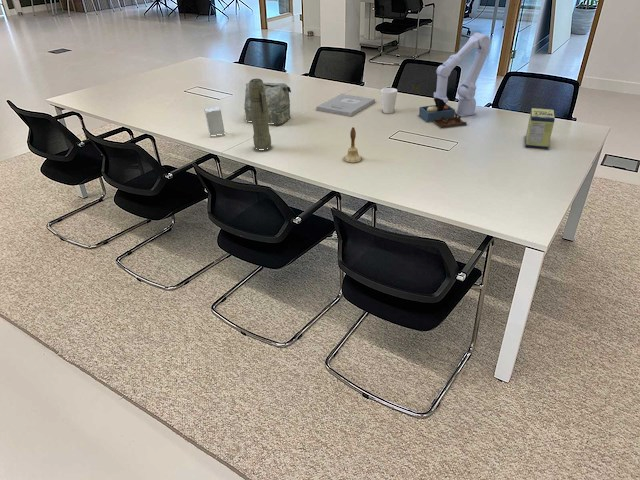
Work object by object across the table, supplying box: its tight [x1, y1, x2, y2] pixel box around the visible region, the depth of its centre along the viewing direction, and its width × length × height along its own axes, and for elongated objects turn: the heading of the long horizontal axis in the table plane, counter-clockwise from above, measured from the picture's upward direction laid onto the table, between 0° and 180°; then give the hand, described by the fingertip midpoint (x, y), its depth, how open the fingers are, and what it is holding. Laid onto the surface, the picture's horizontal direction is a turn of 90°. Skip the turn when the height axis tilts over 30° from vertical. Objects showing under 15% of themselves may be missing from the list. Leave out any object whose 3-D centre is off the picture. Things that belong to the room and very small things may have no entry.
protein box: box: [525, 107, 556, 150], centre depth 243 cm, size 10×16×16 cm
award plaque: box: [315, 93, 376, 117], centre depth 306 cm, size 25×30×2 cm
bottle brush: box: [427, 105, 448, 113], centre depth 281 cm, size 12×3×3 cm, turn 104°
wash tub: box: [418, 103, 456, 123], centre depth 283 cm, size 17×12×5 cm
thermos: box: [248, 78, 272, 152], centre depth 244 cm, size 9×12×35 cm
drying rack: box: [433, 113, 468, 129], centre depth 273 cm, size 15×9×5 cm, turn 104°
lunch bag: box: [243, 81, 292, 126], centre depth 284 cm, size 26×18×22 cm
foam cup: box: [380, 87, 398, 114], centre depth 291 cm, size 10×9×13 cm
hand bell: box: [343, 126, 362, 164], centre depth 234 cm, size 8×8×16 cm
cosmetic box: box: [204, 106, 226, 139], centre depth 268 cm, size 8×6×15 cm
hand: (439, 111), depth 282 cm, fingers closed on bottle brush, 2 cm apart
